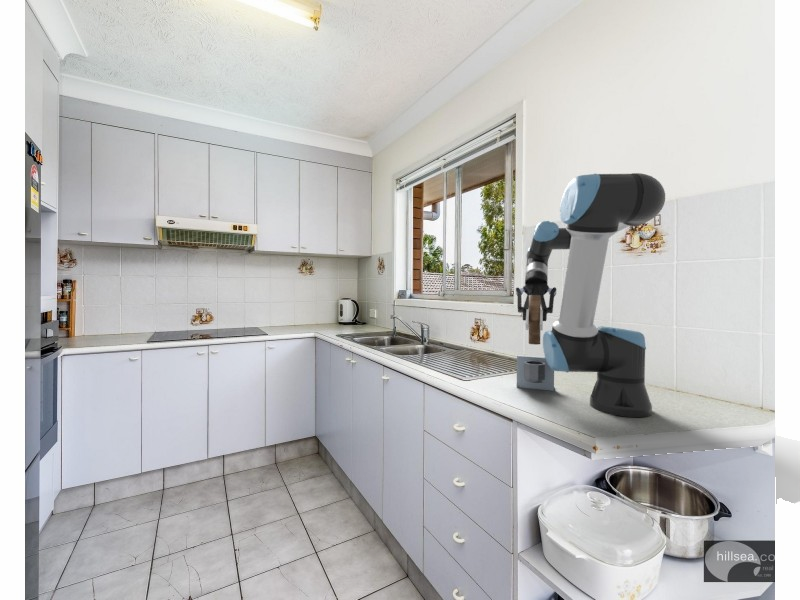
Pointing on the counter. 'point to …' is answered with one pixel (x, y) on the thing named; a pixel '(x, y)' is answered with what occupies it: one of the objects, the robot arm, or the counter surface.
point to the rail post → (534, 319)
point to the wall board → (525, 384)
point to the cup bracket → (534, 371)
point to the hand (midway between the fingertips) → (534, 327)
